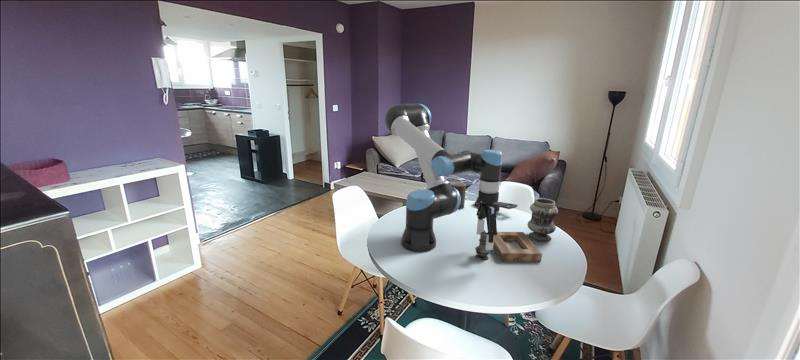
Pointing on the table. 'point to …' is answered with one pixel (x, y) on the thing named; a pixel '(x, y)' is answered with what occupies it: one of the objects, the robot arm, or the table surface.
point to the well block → (515, 247)
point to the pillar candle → (460, 191)
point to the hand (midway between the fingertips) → (484, 241)
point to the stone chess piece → (482, 248)
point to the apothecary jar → (542, 219)
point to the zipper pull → (498, 205)
